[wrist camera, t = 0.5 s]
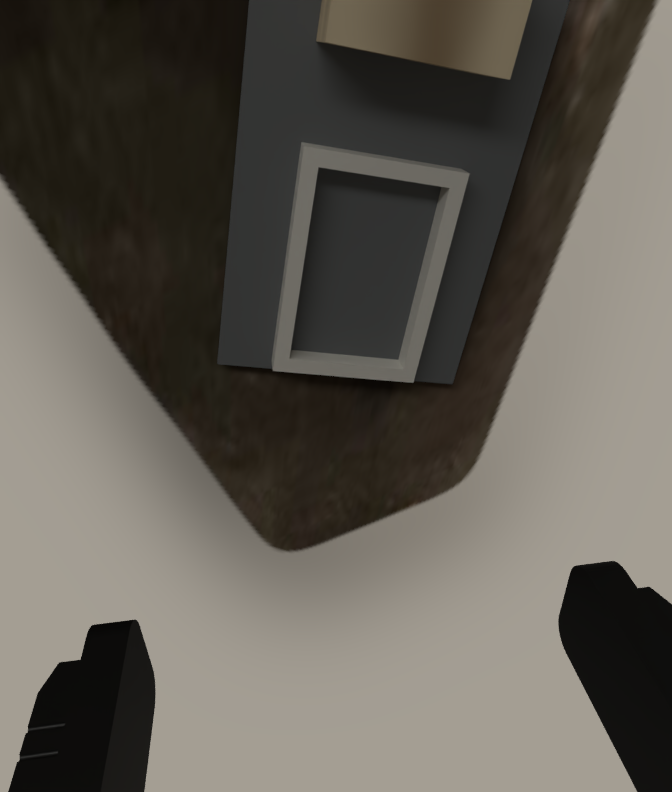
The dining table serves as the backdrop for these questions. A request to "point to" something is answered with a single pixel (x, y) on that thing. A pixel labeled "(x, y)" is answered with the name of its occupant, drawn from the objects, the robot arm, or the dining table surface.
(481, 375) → the dining table surface
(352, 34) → the tan rectangular block
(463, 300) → the mat
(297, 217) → the slot frame
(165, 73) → the dining table surface
